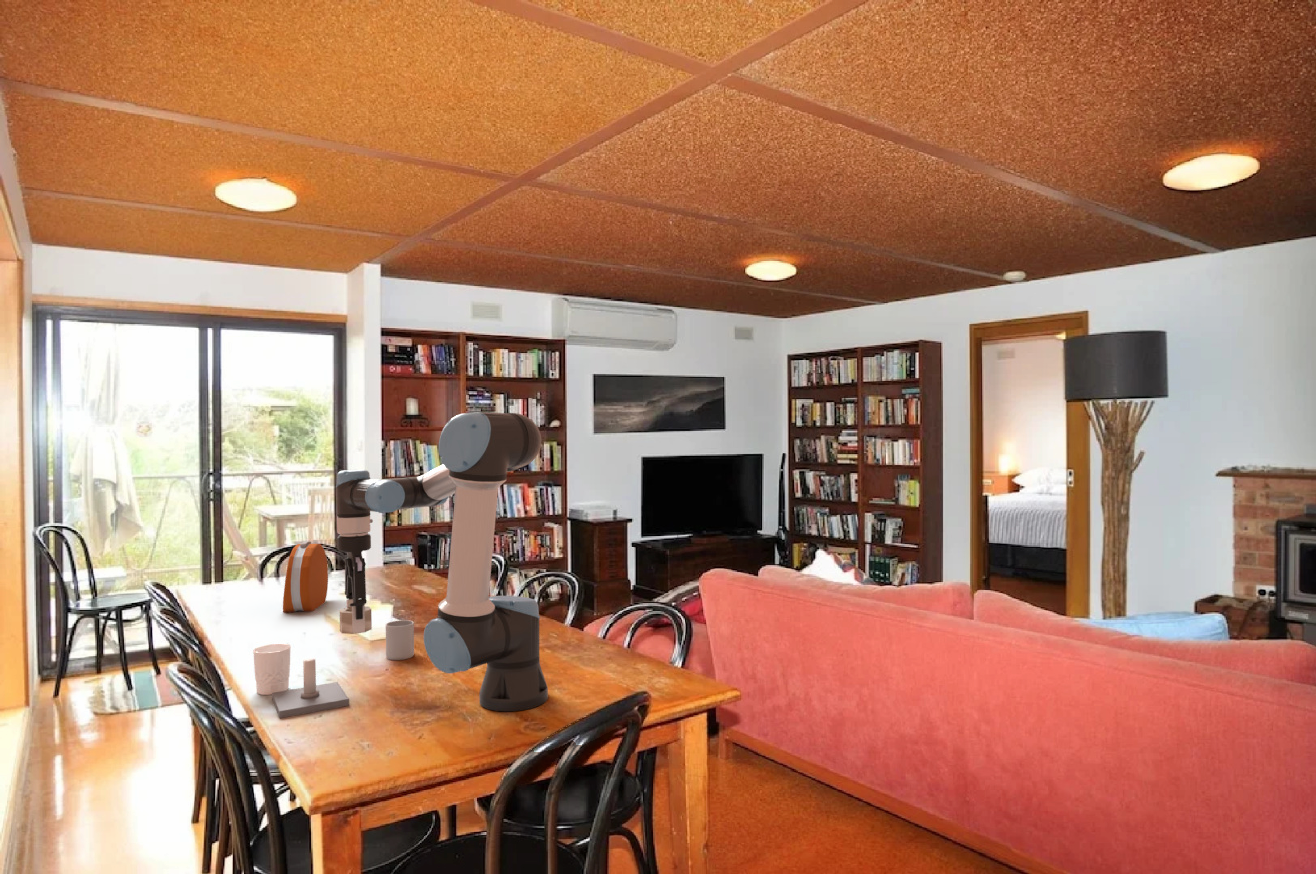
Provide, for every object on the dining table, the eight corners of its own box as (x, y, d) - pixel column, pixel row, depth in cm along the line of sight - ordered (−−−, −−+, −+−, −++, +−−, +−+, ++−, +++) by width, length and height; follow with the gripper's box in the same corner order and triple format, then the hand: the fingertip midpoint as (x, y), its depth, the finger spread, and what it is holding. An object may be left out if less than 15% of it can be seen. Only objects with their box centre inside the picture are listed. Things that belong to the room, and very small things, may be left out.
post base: (349, 705, 176) (348, 662, 176) (279, 718, 169) (278, 673, 169) (337, 688, 188) (336, 648, 188) (272, 699, 181) (271, 657, 181)
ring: (373, 631, 191) (373, 610, 191) (343, 635, 188) (342, 614, 188) (367, 625, 197) (367, 605, 197) (338, 629, 194) (338, 608, 193)
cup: (389, 662, 209) (389, 628, 209) (380, 653, 218) (380, 620, 218) (417, 657, 213) (416, 624, 213) (407, 649, 221) (407, 617, 221)
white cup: (266, 698, 182) (266, 654, 182) (247, 692, 186) (246, 650, 186) (298, 688, 189) (297, 646, 188) (278, 683, 193) (277, 642, 193)
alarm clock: (300, 600, 286) (299, 537, 286) (328, 599, 287) (327, 536, 287) (278, 614, 264) (276, 546, 264) (309, 613, 265) (307, 546, 265)
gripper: (378, 537, 185) (380, 635, 186) (362, 528, 202) (364, 618, 203) (344, 540, 182) (346, 640, 182) (331, 530, 199) (332, 622, 199)
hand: (355, 628), depth 192 cm, fingers closed on ring, 7 cm apart
